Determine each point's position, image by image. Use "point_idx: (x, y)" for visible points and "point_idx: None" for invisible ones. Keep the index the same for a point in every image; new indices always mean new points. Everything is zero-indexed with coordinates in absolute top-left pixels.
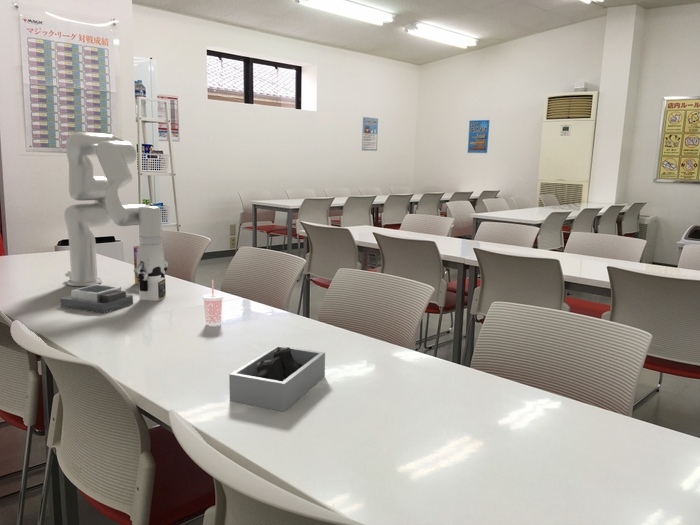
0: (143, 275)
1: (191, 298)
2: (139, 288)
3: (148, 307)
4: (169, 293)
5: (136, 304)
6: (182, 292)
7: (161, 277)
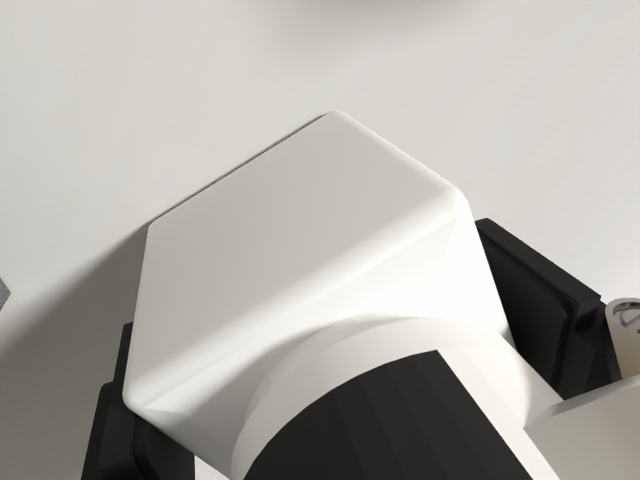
0: (247, 473)
1: None
2: (135, 314)
3: (72, 458)
4: (510, 189)
5: (29, 335)
6: (571, 235)
7: (533, 358)
